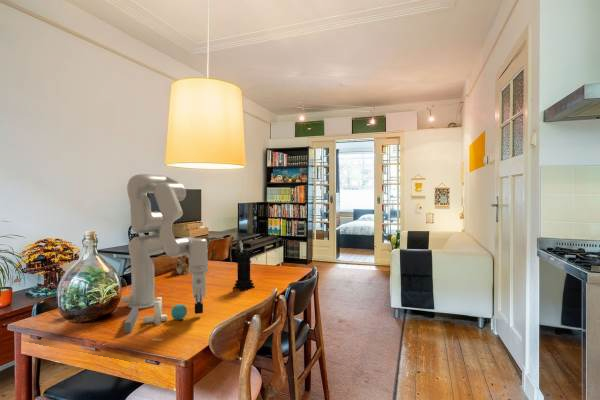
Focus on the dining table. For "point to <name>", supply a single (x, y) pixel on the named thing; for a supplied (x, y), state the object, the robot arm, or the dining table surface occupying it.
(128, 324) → the wall
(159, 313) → the back pin right
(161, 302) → the back pin left
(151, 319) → the front pin
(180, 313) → the ball
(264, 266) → the dining table surface
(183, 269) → the stuffed squirrel
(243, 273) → the chess piece
